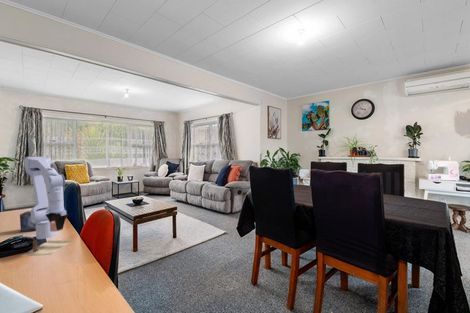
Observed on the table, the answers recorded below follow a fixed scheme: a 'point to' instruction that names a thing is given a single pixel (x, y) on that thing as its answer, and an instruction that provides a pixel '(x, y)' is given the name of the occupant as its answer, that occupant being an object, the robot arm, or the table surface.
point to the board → (46, 247)
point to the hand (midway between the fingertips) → (57, 228)
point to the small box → (26, 222)
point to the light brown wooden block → (54, 226)
